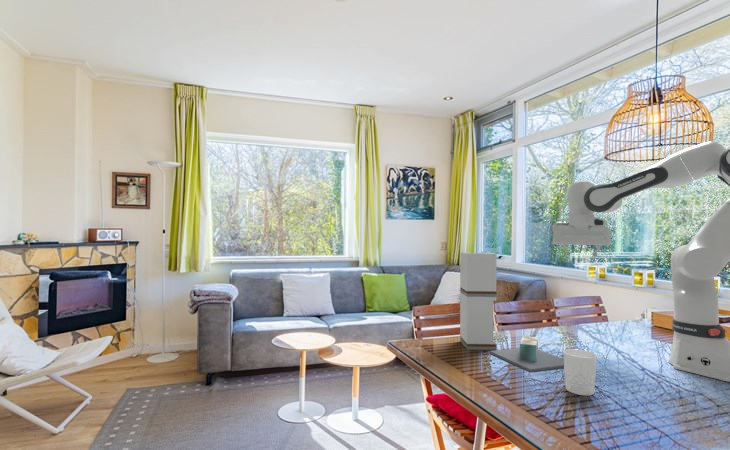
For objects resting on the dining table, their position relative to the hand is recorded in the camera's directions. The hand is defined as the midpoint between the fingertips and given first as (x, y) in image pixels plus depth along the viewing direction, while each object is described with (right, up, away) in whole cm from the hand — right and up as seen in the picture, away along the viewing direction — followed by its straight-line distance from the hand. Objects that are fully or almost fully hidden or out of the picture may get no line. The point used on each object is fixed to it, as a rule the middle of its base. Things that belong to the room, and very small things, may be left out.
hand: (581, 256), depth 157 cm
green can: (-27, -30, -17) cm, 44 cm away
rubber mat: (-30, -33, -24) cm, 51 cm away
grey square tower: (-43, -33, -8) cm, 55 cm away
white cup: (-28, -32, -51) cm, 67 cm away
